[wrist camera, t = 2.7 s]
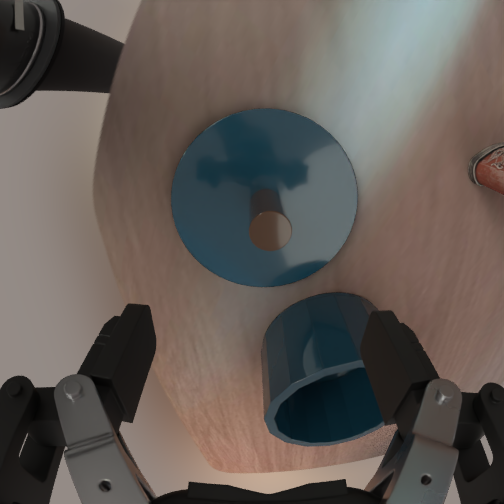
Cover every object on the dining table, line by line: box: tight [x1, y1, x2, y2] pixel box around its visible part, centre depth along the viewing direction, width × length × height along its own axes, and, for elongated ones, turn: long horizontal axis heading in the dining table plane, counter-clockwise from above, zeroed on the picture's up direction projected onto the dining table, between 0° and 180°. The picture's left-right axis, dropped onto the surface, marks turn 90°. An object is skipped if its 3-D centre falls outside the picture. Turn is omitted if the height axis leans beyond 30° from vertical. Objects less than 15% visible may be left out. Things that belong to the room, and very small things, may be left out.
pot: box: [261, 292, 385, 446], centre depth 25 cm, size 13×13×8 cm
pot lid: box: [171, 109, 358, 287], centre depth 19 cm, size 14×14×6 cm
